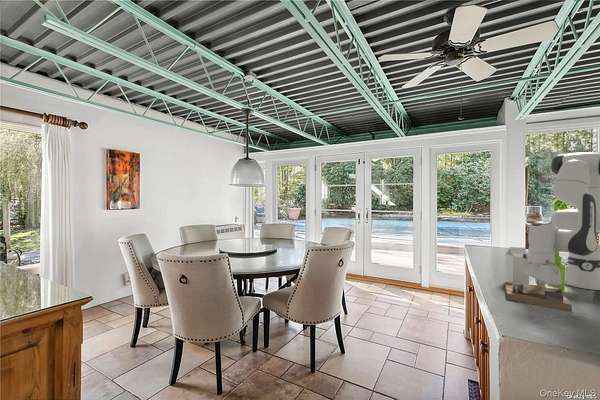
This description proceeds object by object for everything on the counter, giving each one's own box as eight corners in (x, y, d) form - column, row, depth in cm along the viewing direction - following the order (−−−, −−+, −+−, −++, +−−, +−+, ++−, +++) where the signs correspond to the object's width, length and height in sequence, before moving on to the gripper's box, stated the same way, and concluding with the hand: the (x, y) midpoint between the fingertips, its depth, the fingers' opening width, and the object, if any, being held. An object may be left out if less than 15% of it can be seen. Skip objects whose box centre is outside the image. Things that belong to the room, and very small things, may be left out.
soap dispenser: (569, 294, 125) (570, 251, 125) (549, 291, 129) (550, 249, 129) (565, 291, 130) (566, 249, 130) (546, 288, 134) (547, 247, 134)
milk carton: (528, 287, 136) (529, 248, 136) (512, 286, 137) (513, 248, 137) (520, 283, 143) (521, 246, 143) (505, 281, 144) (505, 245, 144)
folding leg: (515, 292, 118) (515, 285, 118) (511, 290, 121) (511, 282, 121) (561, 296, 114) (562, 288, 114) (555, 293, 118) (556, 286, 118)
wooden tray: (505, 286, 135) (505, 275, 135) (560, 295, 124) (560, 283, 124) (507, 299, 117) (507, 286, 117) (571, 311, 106) (572, 296, 106)
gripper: (566, 264, 109) (566, 299, 109) (535, 254, 129) (535, 283, 129) (548, 263, 110) (547, 297, 110) (519, 253, 130) (519, 282, 130)
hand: (540, 290), depth 120 cm, fingers closed
